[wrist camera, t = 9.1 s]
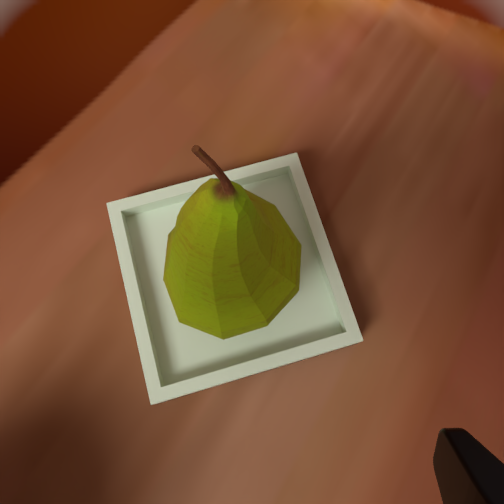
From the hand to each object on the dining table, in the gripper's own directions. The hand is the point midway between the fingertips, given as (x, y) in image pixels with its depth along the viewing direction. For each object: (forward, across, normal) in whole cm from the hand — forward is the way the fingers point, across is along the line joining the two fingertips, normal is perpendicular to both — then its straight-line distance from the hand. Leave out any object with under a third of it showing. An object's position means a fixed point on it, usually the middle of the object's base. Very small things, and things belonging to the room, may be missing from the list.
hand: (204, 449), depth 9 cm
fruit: (+14, 0, +5) cm, 15 cm away
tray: (+14, 0, +5) cm, 15 cm away
